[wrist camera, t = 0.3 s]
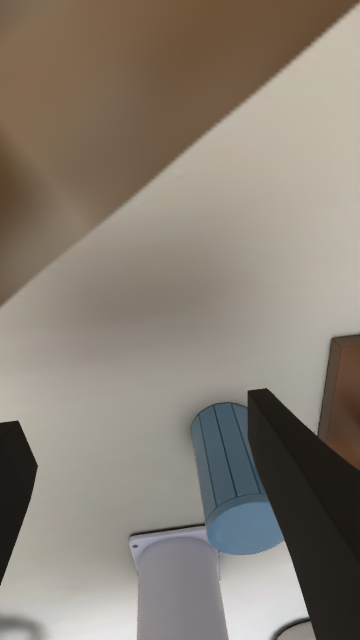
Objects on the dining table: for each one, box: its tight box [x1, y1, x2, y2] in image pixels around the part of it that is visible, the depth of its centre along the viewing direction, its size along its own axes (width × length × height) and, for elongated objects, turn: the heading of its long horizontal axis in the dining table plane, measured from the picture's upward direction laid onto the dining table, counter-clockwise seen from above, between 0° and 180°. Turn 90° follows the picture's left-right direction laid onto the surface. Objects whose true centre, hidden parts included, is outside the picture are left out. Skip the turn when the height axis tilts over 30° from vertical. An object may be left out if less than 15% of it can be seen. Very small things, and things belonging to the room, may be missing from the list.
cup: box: [191, 403, 284, 555], centre depth 21 cm, size 5×5×8 cm
